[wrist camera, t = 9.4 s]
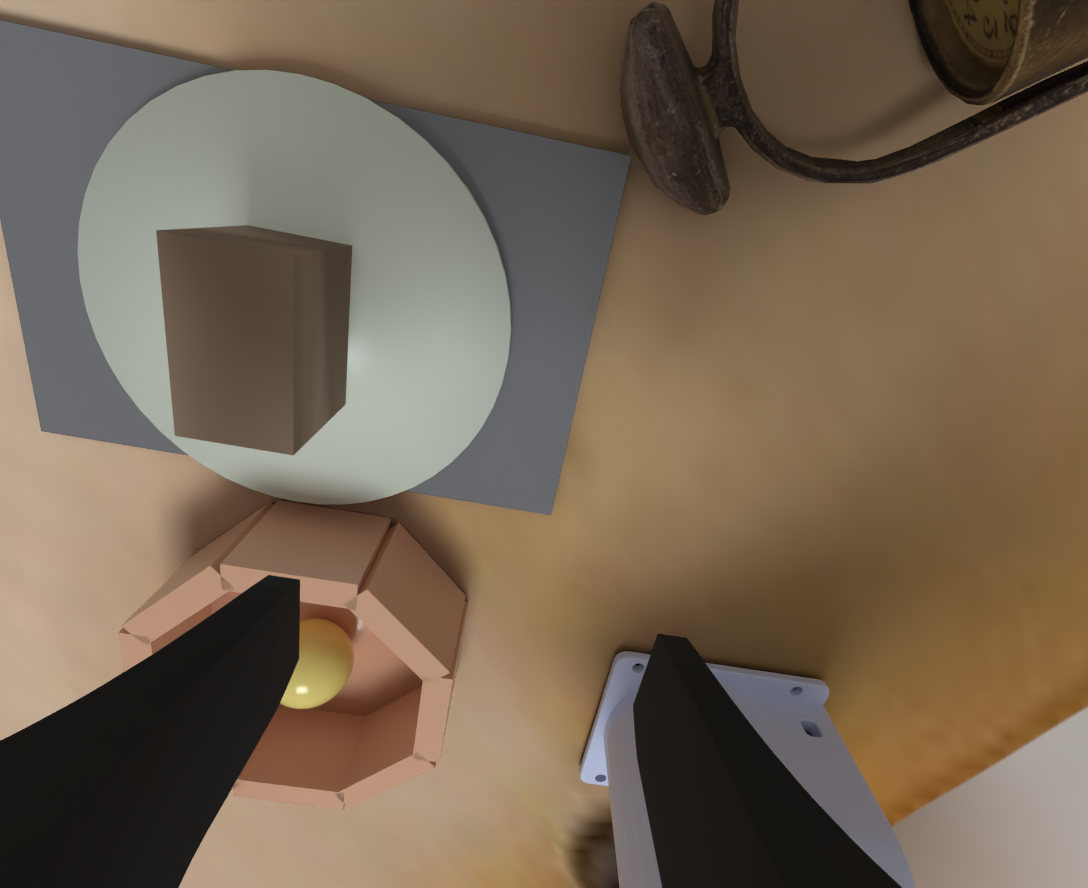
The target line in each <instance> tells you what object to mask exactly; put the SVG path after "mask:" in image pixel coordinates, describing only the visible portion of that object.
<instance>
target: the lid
mask: <svg viewBox="0 0 1088 888" xmlns="http://www.w3.org/2000/svg"><path fill="white" fill-rule="evenodd" d="M77 252H78V264H79V276H80V284H81V288H82V293H83V298H84V302H85V307H86V311H87V314H88V317H89V320H90V322H91V325H92V328H93V331H94V334H95V337H96V339H97V341H98V343H99V345H100V348H101V350H102V352H103V354H104V356H105V358H106V360H107V362H108V364H109V366H110V367H111V369H112V371H113V372H114V374H115V376H116V377H117V379H118V380H119V382H120V384H121V385H122V387H123V388H124V390H125V391H126V392H127V394H128V395H129V396H130V398H131V399H132V400H133V401H134V403H135V404H136V405H137V407H138V408H139V409H140V411H141V412H142V413H143V414H144V415H145V416H146V417H147V418H148V419H149V420H150V421H151V422H152V423H153V424H154V425H155V427H156V428H157V429H158V430H159V431H160V432H161V433H163V434H164V435H165V436H166V437H167V438H168V439H169V440H171V441H172V442H173V443H174V444H175V445H176V446H178V447H179V448H180V449H181V450H182V451H184V452H185V453H187V454H188V455H189V456H191V457H192V458H194V459H195V460H197V461H198V462H199V463H201V464H202V465H204V466H205V467H207V468H209V469H211V470H212V471H214V472H216V473H218V474H219V475H221V476H223V477H225V478H227V479H229V480H231V481H233V482H236V483H238V484H240V485H242V486H245V487H247V488H249V489H252V490H255V491H258V492H261V493H264V494H267V495H270V496H273V497H277V498H282V499H287V500H291V501H296V502H303V503H312V504H322V505H331V504H353V503H361V502H369V501H373V500H377V499H381V498H385V497H389V496H393V495H395V494H398V493H400V492H403V491H405V490H408V489H410V488H413V487H415V486H417V485H418V484H420V483H422V482H424V481H426V480H427V479H429V478H431V477H433V476H434V475H435V474H437V473H438V472H439V471H441V470H442V469H443V468H445V467H446V466H447V465H449V464H450V463H451V462H452V461H453V460H454V459H455V458H456V457H457V456H458V455H459V454H460V453H461V452H462V451H463V450H464V449H465V448H466V447H467V446H468V445H469V444H470V443H471V441H472V440H473V439H474V437H475V436H476V435H477V433H478V432H479V431H480V429H481V428H482V426H483V424H484V423H485V421H486V419H487V417H488V415H489V414H490V412H491V410H492V408H493V406H494V404H495V401H496V398H497V396H498V393H499V391H500V388H501V385H502V382H503V378H504V374H505V370H506V365H507V361H508V357H509V350H510V339H511V329H512V327H511V301H510V295H509V289H508V282H507V276H506V272H505V268H504V265H503V261H502V258H501V255H500V251H499V248H498V245H497V242H496V240H495V238H494V236H493V233H492V231H491V229H490V226H489V224H488V222H487V219H486V217H485V215H484V214H483V212H482V210H481V209H480V207H479V205H478V203H477V202H476V200H475V198H474V197H473V195H472V193H471V192H470V190H469V188H468V187H467V186H466V185H465V183H464V182H463V181H462V179H461V178H460V177H459V175H458V174H457V173H456V171H455V170H454V169H453V167H452V166H451V165H450V164H449V163H448V162H447V161H446V159H445V158H444V157H443V156H442V155H441V154H440V153H439V152H438V151H437V150H436V149H435V148H434V147H433V146H432V145H431V144H430V143H429V142H428V141H427V140H426V139H425V138H423V137H422V136H421V135H420V134H418V133H417V132H416V131H415V130H413V129H412V128H411V127H410V126H408V125H407V124H406V123H405V122H403V121H402V120H401V119H399V118H398V117H396V116H394V115H393V114H391V113H390V112H388V111H386V110H385V109H383V108H381V107H380V106H378V105H376V104H375V103H373V102H372V101H370V100H368V99H367V98H365V97H363V96H360V95H358V94H356V93H354V92H351V91H349V90H347V89H345V88H342V87H340V86H338V85H336V84H333V83H330V82H326V81H323V80H319V79H316V78H312V77H309V76H305V75H302V74H295V73H288V72H281V71H273V70H235V71H229V72H224V73H218V74H212V75H207V76H203V77H200V78H198V79H195V80H192V81H189V82H186V83H184V84H181V85H178V86H176V87H174V88H172V89H170V90H169V91H167V92H165V93H163V94H162V95H160V96H158V97H156V98H155V99H153V100H151V101H150V102H149V103H147V104H146V105H145V106H144V107H143V108H141V109H140V110H139V111H138V112H137V113H135V114H134V115H133V116H132V117H131V118H129V119H128V120H127V121H126V123H125V124H124V125H123V126H122V127H121V129H120V130H119V131H118V132H117V133H116V135H115V136H114V137H113V138H112V139H111V141H110V142H109V143H108V145H107V147H106V149H105V150H104V152H103V154H102V156H101V157H100V159H99V161H98V163H97V164H96V166H95V168H94V171H93V173H92V176H91V179H90V182H89V184H88V187H87V190H86V192H85V196H84V201H83V205H82V210H81V215H80V220H79V232H78V251H77Z"/></svg>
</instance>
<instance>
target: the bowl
mask: <svg viewBox="0 0 1088 888" xmlns="http://www.w3.org/2000/svg"><path fill="white" fill-rule="evenodd" d="M390 524H391V518H387V517H381V516H375V515H369V514H363V513H356V512H350V511H344V510H338V509H332V508H325V507H319V506H313V505H307V504H300V503H294V502H288V501H282V500H278V501H277V502H276V503H275V504H274V505H273V504H272V503H271V502H269V503H268V504H266V505H265V506H263V507H262V508H260V509H259V510H257V511H256V512H255V513H253V514H252V515H250V516H249V517H247V518H246V519H244V520H243V521H242V522H240V523H239V524H237V525H236V526H234V527H233V528H231V529H230V530H229V531H227V532H226V533H224V534H223V535H221V536H220V537H218V538H217V539H216V540H214V541H213V542H211V543H210V544H208V545H207V546H205V547H204V548H202V549H201V550H200V551H198V552H197V553H195V554H194V555H193V556H192V557H191V558H190V559H189V560H188V561H187V562H186V563H185V564H184V565H183V566H182V567H181V568H180V569H179V570H178V571H177V572H176V573H175V574H174V575H173V576H172V577H171V578H170V579H169V580H167V581H166V582H165V583H164V584H163V585H162V586H161V587H160V588H159V589H158V590H157V591H156V592H155V593H154V594H153V595H152V596H151V597H150V598H149V599H148V600H147V601H146V602H145V603H144V604H143V605H142V606H141V607H140V608H139V609H138V610H137V611H136V612H135V613H134V614H133V615H132V616H131V617H130V618H129V619H128V620H127V621H126V622H125V623H124V624H123V625H122V627H123V628H122V629H121V630H120V631H119V632H118V634H119V640H120V646H121V653H122V659H123V666H124V672H125V671H127V670H128V669H130V668H131V667H133V666H135V665H136V664H138V663H139V662H141V661H143V660H144V659H146V658H147V657H149V656H151V655H152V654H154V653H155V652H157V651H158V650H160V649H162V648H163V647H165V646H166V645H168V644H169V643H170V642H172V641H173V640H175V639H176V638H178V637H179V636H181V635H182V634H184V633H185V632H187V631H188V630H190V629H191V628H193V627H194V626H196V625H197V624H199V623H200V622H202V621H203V620H204V619H206V618H207V617H209V616H210V615H212V614H213V613H214V612H216V611H217V610H219V609H220V608H222V607H223V606H224V605H226V604H227V603H229V602H230V601H231V600H233V599H234V598H236V597H237V596H239V595H240V594H241V593H243V592H244V591H246V590H247V589H248V588H250V587H251V586H253V585H254V584H256V583H257V582H259V581H260V580H262V579H263V578H265V577H266V576H268V575H273V576H279V577H286V578H293V579H299V580H300V637H299V660H298V663H297V665H296V667H295V670H294V672H293V674H292V677H291V679H290V682H289V684H288V686H287V689H286V691H285V693H284V695H283V697H282V700H281V702H280V704H279V706H278V709H277V711H276V712H275V714H274V716H273V718H272V720H271V721H270V723H269V725H268V727H267V728H266V730H265V732H264V734H263V735H262V737H261V739H260V741H259V742H258V744H257V746H256V748H255V749H254V751H253V753H252V755H251V756H250V758H249V760H248V761H247V763H246V765H245V767H244V768H243V770H242V772H241V773H240V775H239V777H238V779H237V780H236V782H235V784H234V786H233V787H232V789H233V796H236V797H244V798H252V799H260V800H269V801H277V802H285V803H293V804H301V805H310V806H318V807H326V808H334V809H342V810H343V809H344V806H345V804H346V805H347V806H349V807H350V808H353V807H355V806H357V805H359V804H361V803H363V802H366V801H368V800H370V799H372V798H374V797H376V796H378V795H380V794H382V793H384V792H386V791H388V790H390V789H392V788H394V787H396V786H398V785H400V784H402V783H404V782H406V781H408V780H410V779H412V778H415V777H417V776H419V775H421V774H423V773H425V772H427V771H429V770H431V769H433V768H435V765H436V762H439V761H440V756H441V751H442V745H443V740H444V735H445V730H446V725H447V719H448V714H449V709H450V704H451V699H452V693H453V688H454V683H455V678H456V672H457V666H458V660H459V654H460V648H461V642H462V636H463V629H464V623H465V617H466V611H467V605H468V602H465V598H466V595H465V594H464V593H463V592H462V591H461V590H460V589H459V587H458V586H457V585H456V584H455V583H454V582H453V581H452V580H451V579H450V578H449V576H448V575H447V574H446V573H445V572H444V571H443V570H442V569H441V568H440V567H439V566H438V564H437V563H436V562H435V561H434V560H433V559H432V558H431V557H430V556H429V555H428V554H427V552H426V551H425V550H424V549H423V548H422V547H421V546H420V545H419V544H418V543H417V542H416V540H415V539H414V538H413V537H412V536H411V535H410V534H409V533H408V532H407V531H406V530H405V528H404V527H403V526H402V525H401V524H400V523H399V522H398V523H397V524H395V525H393V526H392V527H390ZM232 789H231V790H232Z"/></svg>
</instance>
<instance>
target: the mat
mask: <svg viewBox="0 0 1088 888" xmlns="http://www.w3.org/2000/svg"><path fill="white" fill-rule="evenodd" d="M229 71H234V70H230V69H225V68H221V67H216V66H211V65H207V64H202V63H197V62H193V61H188V60H183V59H179V58H174V57H169V56H165V55H160V54H155V53H151V52H146V51H142V50H137V49H132V48H128V47H123V46H118V45H114V44H109V43H104V42H100V41H95V40H90V39H86V38H81V37H76V36H72V35H67V34H63V33H58V32H53V31H49V30H44V29H39V28H35V27H30V26H25V25H21V24H16V23H11V22H7V21H2V20H0V220H1V225H2V230H3V235H4V240H5V246H6V251H7V256H8V261H9V266H10V271H11V277H12V282H13V287H14V292H15V297H16V302H17V308H18V313H19V318H20V323H21V328H22V333H23V339H24V344H25V349H26V354H27V359H28V365H29V370H30V375H31V380H32V385H33V390H34V396H35V401H36V406H37V411H38V416H39V421H40V427H41V431H44V432H50V433H56V434H62V435H68V436H74V437H80V438H86V439H92V440H98V441H104V442H110V443H117V444H123V445H129V446H135V447H141V448H147V449H153V450H159V451H165V452H171V453H177V454H183V455H188V454H187V453H185V452H184V451H182V450H181V449H180V448H179V447H178V446H176V445H175V444H174V443H173V442H172V441H171V440H169V439H168V438H167V437H166V436H165V435H164V434H163V433H161V432H160V431H159V430H158V429H157V428H156V427H155V425H154V424H153V423H152V422H151V421H150V420H149V419H148V418H147V417H146V416H145V415H144V414H143V413H142V412H141V411H140V409H139V408H138V407H137V405H136V404H135V403H134V401H133V400H132V399H131V398H130V396H129V395H128V394H127V392H126V391H125V390H124V388H123V387H122V385H121V384H120V382H119V380H118V379H117V377H116V376H115V374H114V372H113V371H112V369H111V367H110V366H109V364H108V362H107V360H106V358H105V356H104V354H103V352H102V350H101V348H100V345H99V343H98V341H97V339H96V337H95V334H94V331H93V328H92V325H91V322H90V320H89V317H88V314H87V311H86V307H85V302H84V298H83V293H82V288H81V284H80V276H79V264H78V252H77V251H78V232H79V220H80V215H81V210H82V205H83V201H84V196H85V192H86V190H87V187H88V184H89V182H90V179H91V176H92V173H93V171H94V168H95V166H96V164H97V163H98V161H99V159H100V157H101V156H102V154H103V152H104V150H105V149H106V147H107V145H108V143H109V142H110V141H111V139H112V138H113V137H114V136H115V135H116V133H117V132H118V131H119V130H120V129H121V127H122V126H123V125H124V124H125V123H126V121H127V120H128V119H129V118H131V117H132V116H133V115H134V114H135V113H137V112H138V111H139V110H140V109H141V108H143V107H144V106H145V105H146V104H147V103H149V102H150V101H151V100H153V99H155V98H156V97H158V96H160V95H162V94H163V93H165V92H167V91H169V90H170V89H172V88H174V87H176V86H178V85H181V84H184V83H186V82H189V81H192V80H195V79H198V78H200V77H203V76H207V75H212V74H218V73H224V72H229ZM368 100H369V99H368ZM370 101H372V102H373V103H375V104H376V105H378V106H380V107H381V108H383V109H385V110H386V111H388V112H390V113H391V114H393V115H394V116H396V117H398V118H399V119H401V120H402V121H403V122H405V123H406V124H407V125H408V126H410V127H411V128H412V129H413V130H415V131H416V132H417V133H418V134H420V135H421V136H422V137H423V138H425V139H426V140H427V141H428V142H429V143H430V144H431V145H432V146H433V147H434V148H435V149H436V150H437V151H438V152H439V153H440V154H441V155H442V156H443V157H444V158H445V159H446V161H447V162H448V163H449V164H450V165H451V166H452V167H453V169H454V170H455V171H456V173H457V174H458V175H459V177H460V178H461V179H462V181H463V182H464V183H465V185H466V186H467V187H468V188H469V190H470V192H471V193H472V195H473V197H474V198H475V200H476V202H477V203H478V205H479V207H480V209H481V210H482V212H483V214H484V215H485V217H486V219H487V222H488V224H489V226H490V229H491V231H492V233H493V236H494V238H495V240H496V242H497V245H498V248H499V251H500V255H501V258H502V261H503V265H504V268H505V272H506V276H507V282H508V289H509V295H510V301H511V327H512V329H511V339H510V350H509V357H508V361H507V365H506V370H505V374H504V378H503V382H502V385H501V388H500V391H499V393H498V396H497V398H496V401H495V404H494V406H493V408H492V410H491V412H490V414H489V415H488V417H487V419H486V421H485V423H484V424H483V426H482V428H481V429H480V431H479V432H478V433H477V435H476V436H475V437H474V439H473V440H472V441H471V443H470V444H469V445H468V446H467V447H466V448H465V449H464V450H463V451H462V452H461V453H460V454H459V455H458V456H457V457H456V458H455V459H454V460H453V461H452V462H451V463H450V464H449V465H447V466H446V467H445V468H443V469H442V470H441V471H439V472H438V473H437V474H435V475H434V476H433V477H431V478H429V479H427V480H426V481H424V482H422V483H420V484H418V485H417V486H415V487H413V488H410V489H408V490H405V491H408V492H414V493H420V494H426V495H432V496H438V497H444V498H450V499H457V500H463V501H469V502H475V503H481V504H487V505H493V506H499V507H505V508H511V509H517V510H523V511H529V512H535V513H542V514H548V515H551V513H552V508H553V504H554V499H555V495H556V490H557V486H558V481H559V477H560V472H561V468H562V463H563V459H564V454H565V450H566V446H567V441H568V437H569V432H570V428H571V423H572V419H573V414H574V410H575V405H576V401H577V396H578V392H579V387H580V383H581V379H582V374H583V370H584V365H585V361H586V356H587V352H588V347H589V343H590V338H591V334H592V329H593V325H594V320H595V316H596V312H597V307H598V303H599V298H600V294H601V289H602V285H603V280H604V276H605V271H606V267H607V262H608V258H609V253H610V249H611V245H612V240H613V236H614V231H615V227H616V222H617V218H618V213H619V209H620V204H621V200H622V195H623V191H624V186H625V182H626V177H627V173H628V169H629V164H630V160H631V156H629V155H625V154H620V153H615V152H611V151H606V150H602V149H597V148H592V147H588V146H583V145H578V144H574V143H569V142H564V141H560V140H555V139H550V138H546V137H541V136H536V135H532V134H527V133H523V132H518V131H513V130H509V129H504V128H499V127H495V126H490V125H485V124H481V123H476V122H471V121H467V120H462V119H457V118H453V117H448V116H444V115H439V114H434V113H430V112H425V111H420V110H416V109H411V108H406V107H402V106H397V105H392V104H388V103H383V102H379V101H374V100H370Z"/></svg>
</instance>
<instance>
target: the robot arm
mask: <svg viewBox="0 0 1088 888" xmlns="http://www.w3.org/2000/svg"><path fill="white" fill-rule="evenodd" d="M299 637H300V580H299V579H293V578H286V577H279V576H273V575H268V576H266V577H265V578H263V579H262V580H260V581H259V582H257V583H256V584H254V585H253V586H251V587H250V588H248V589H247V590H246V591H244V592H243V593H241V594H240V595H239V596H237V597H236V598H234V599H233V600H231V601H230V602H229V603H227V604H226V605H224V606H223V607H222V608H220V609H219V610H217V611H216V612H214V613H213V614H212V615H210V616H209V617H207V618H206V619H204V620H203V621H202V622H200V623H199V624H197V625H196V626H194V627H193V628H191V629H190V630H188V631H187V632H185V633H184V634H182V635H181V636H179V637H178V638H176V639H175V640H173V641H172V642H170V643H169V644H168V645H166V646H165V647H163V648H162V649H160V650H158V651H157V652H155V653H154V654H152V655H151V656H149V657H147V658H146V659H144V660H143V661H141V662H139V663H138V664H136V665H135V666H133V667H131V668H130V669H128V670H127V671H125V672H123V673H122V674H120V675H119V676H117V677H115V678H114V679H112V680H111V681H109V682H107V683H106V684H104V685H102V686H101V687H99V688H97V689H96V690H94V691H92V692H90V693H89V694H87V695H85V696H84V697H82V698H80V699H78V700H77V701H75V702H73V703H71V704H69V705H68V706H66V707H64V708H62V709H60V710H58V711H56V712H55V713H53V714H51V715H49V716H47V717H45V718H43V719H42V720H40V721H38V722H36V723H34V724H32V725H30V726H29V727H27V728H25V729H23V730H21V731H19V732H17V733H15V734H13V735H11V736H9V737H7V738H5V739H3V740H1V741H0V888H178V887H179V885H180V883H181V881H182V879H183V877H184V875H185V873H186V870H187V868H188V866H189V864H190V862H191V860H192V858H193V857H194V855H195V853H196V851H197V849H198V847H199V845H200V843H201V842H202V840H203V838H204V836H205V834H206V832H207V830H208V829H209V827H210V825H211V824H212V822H213V820H214V818H215V817H216V815H217V813H218V811H219V810H220V808H221V806H222V805H223V803H224V801H225V799H226V798H227V796H228V794H229V792H230V791H231V789H232V787H233V786H234V784H235V782H236V780H237V779H238V777H239V775H240V773H241V772H242V770H243V768H244V767H245V765H246V763H247V761H248V760H249V758H250V756H251V755H252V753H253V751H254V749H255V748H256V746H257V744H258V742H259V741H260V739H261V737H262V735H263V734H264V732H265V730H266V728H267V727H268V725H269V723H270V721H271V720H272V718H273V716H274V714H275V712H276V711H277V709H278V706H279V704H280V702H281V700H282V697H283V695H284V693H285V691H286V689H287V686H288V684H289V682H290V679H291V677H292V674H293V672H294V670H295V667H296V665H297V663H298V660H299ZM639 663H640V664H641V665H638V666H635V664H639ZM794 687H795V688H794ZM829 693H830V691H829V688H828V687H827V685H826V683H825V682H824V681H822V680H819V679H812V678H805V677H798V676H792V675H785V674H778V673H771V672H765V671H758V670H751V669H744V668H738V667H731V666H724V665H717V664H711V663H705V662H704V661H703V659H702V658H701V656H700V655H699V654H698V652H697V651H696V650H695V648H694V647H693V645H692V644H691V643H690V642H689V640H688V639H687V638H683V637H677V636H670V635H664V634H658V635H657V638H656V641H655V644H654V647H653V649H652V652H651V655H650V654H643V653H636V652H630V651H624V652H620V653H619V654H617V655H616V656H615V658H614V661H613V664H612V667H611V670H610V673H609V677H608V680H607V683H606V686H605V689H604V692H603V696H602V699H601V702H600V705H599V708H598V711H597V715H596V718H595V721H594V724H593V727H592V730H591V734H590V737H589V740H588V743H587V746H586V749H585V753H584V756H583V759H582V762H581V765H580V768H579V773H580V779H581V780H582V781H584V782H585V783H590V784H598V785H605V786H609V795H610V804H611V814H612V823H613V832H614V841H615V850H616V859H617V868H618V878H619V887H620V888H915V884H914V880H913V878H912V874H911V871H910V868H909V865H908V861H907V859H906V857H905V855H904V852H903V849H902V847H901V845H900V843H899V841H898V839H897V837H896V835H895V833H894V831H893V829H892V827H891V825H890V824H889V822H888V820H887V818H886V817H885V815H884V813H883V811H882V809H881V808H880V806H879V804H878V802H877V800H876V799H875V797H874V795H873V793H872V792H871V790H870V788H869V786H868V784H867V783H866V781H865V779H864V777H863V775H862V774H861V772H860V770H859V768H858V766H857V765H856V763H855V761H854V759H853V758H852V756H851V754H850V752H849V750H848V749H847V747H846V745H845V743H844V741H843V740H842V738H841V736H840V734H839V733H838V731H837V729H836V727H835V725H834V724H833V722H832V720H831V718H830V716H829V715H828V713H827V711H826V709H825V708H824V706H823V705H824V703H825V701H826V699H827V698H828V696H829Z"/></svg>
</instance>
